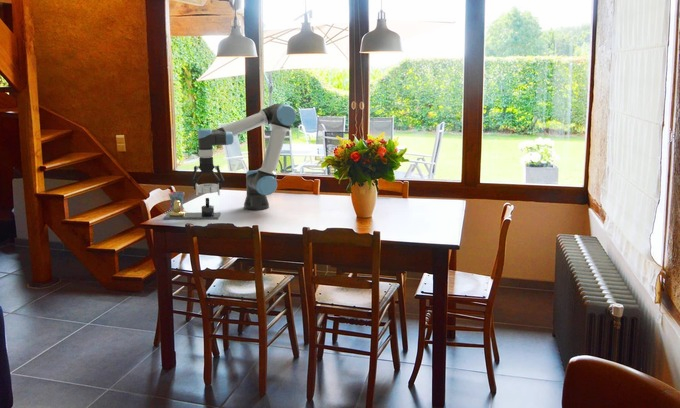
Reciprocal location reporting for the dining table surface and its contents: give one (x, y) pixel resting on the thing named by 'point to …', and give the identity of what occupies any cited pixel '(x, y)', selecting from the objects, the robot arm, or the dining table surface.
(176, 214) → the grey peg stand
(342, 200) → the dining table surface
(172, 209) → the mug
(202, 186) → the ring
